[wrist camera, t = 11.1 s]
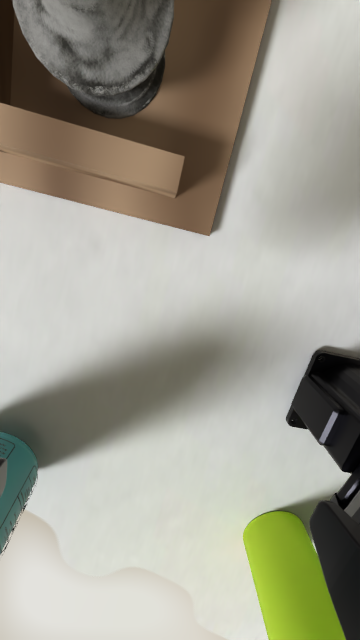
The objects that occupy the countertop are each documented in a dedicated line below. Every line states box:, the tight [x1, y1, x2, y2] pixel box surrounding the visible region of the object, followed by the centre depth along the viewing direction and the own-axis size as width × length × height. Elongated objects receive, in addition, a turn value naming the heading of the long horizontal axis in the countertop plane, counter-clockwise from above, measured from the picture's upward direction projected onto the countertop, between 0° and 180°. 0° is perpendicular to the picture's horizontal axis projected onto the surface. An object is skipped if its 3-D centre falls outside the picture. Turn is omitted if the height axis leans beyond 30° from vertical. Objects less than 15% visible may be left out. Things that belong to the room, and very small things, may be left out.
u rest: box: [0, 0, 272, 236], centre depth 12 cm, size 16×14×4 cm
